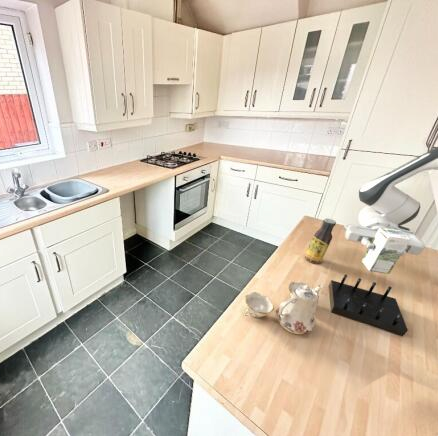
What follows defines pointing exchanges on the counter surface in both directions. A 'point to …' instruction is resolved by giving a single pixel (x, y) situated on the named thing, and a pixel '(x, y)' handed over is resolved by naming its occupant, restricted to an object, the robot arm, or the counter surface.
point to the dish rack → (367, 306)
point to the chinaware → (288, 308)
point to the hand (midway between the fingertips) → (386, 250)
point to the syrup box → (385, 250)
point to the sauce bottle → (320, 242)
